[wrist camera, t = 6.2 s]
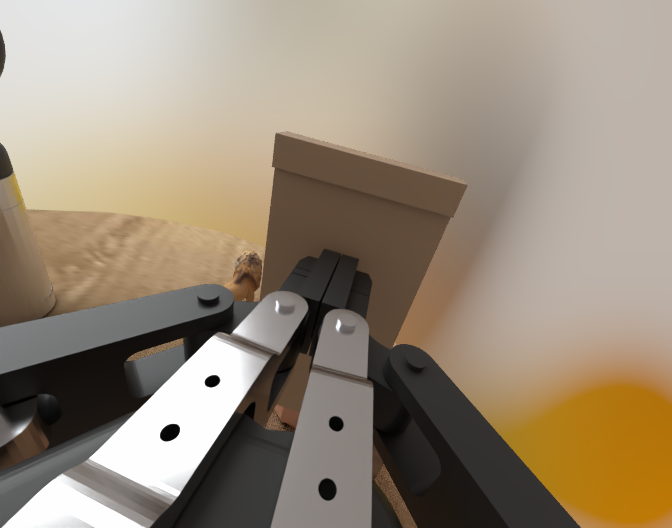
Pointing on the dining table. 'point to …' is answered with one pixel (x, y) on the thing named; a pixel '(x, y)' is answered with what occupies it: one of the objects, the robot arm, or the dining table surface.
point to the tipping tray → (355, 227)
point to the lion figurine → (246, 276)
